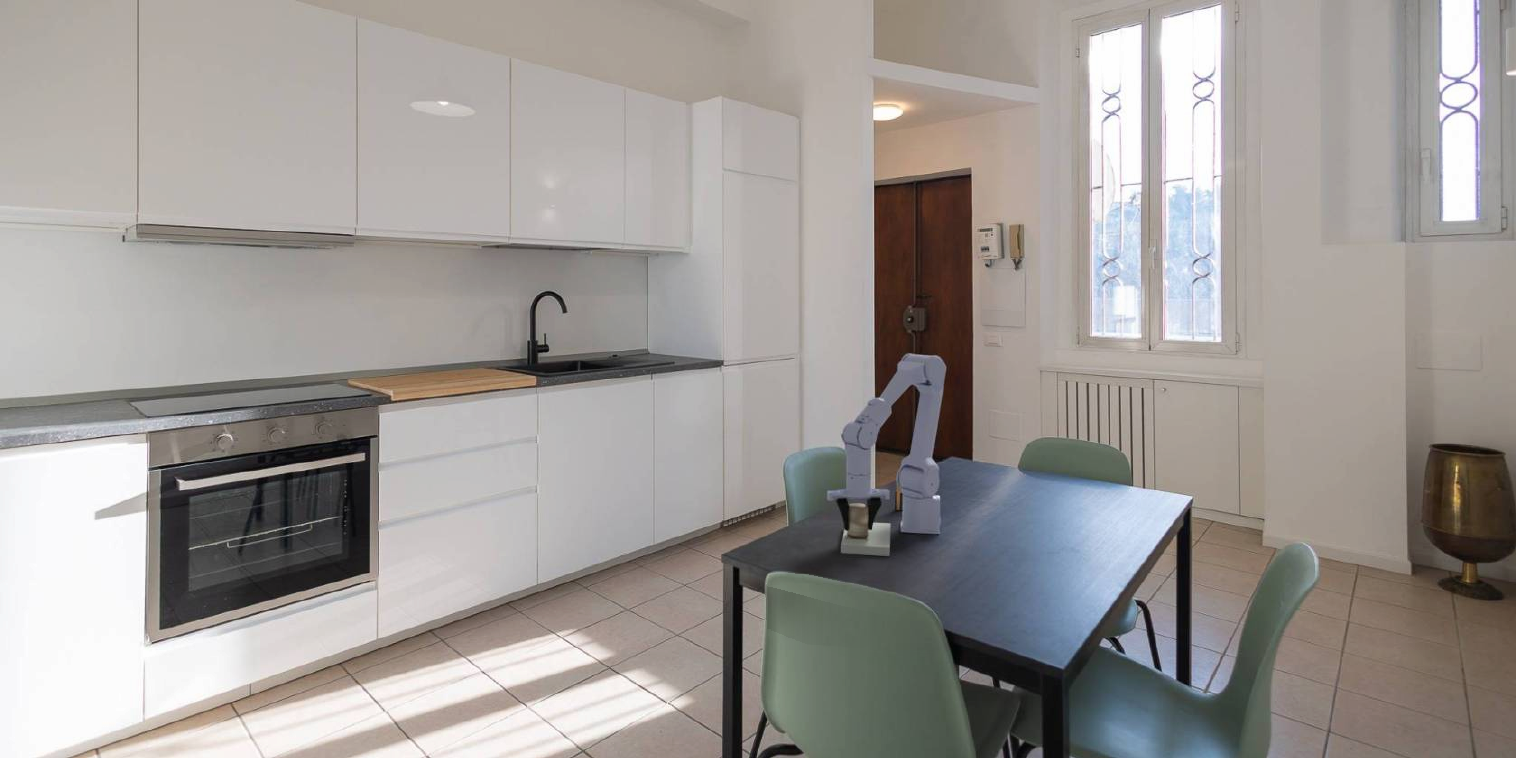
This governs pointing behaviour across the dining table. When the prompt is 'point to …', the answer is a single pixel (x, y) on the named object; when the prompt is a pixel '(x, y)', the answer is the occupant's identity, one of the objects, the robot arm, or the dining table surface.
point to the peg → (858, 521)
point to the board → (869, 541)
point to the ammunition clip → (899, 499)
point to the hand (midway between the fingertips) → (857, 529)
